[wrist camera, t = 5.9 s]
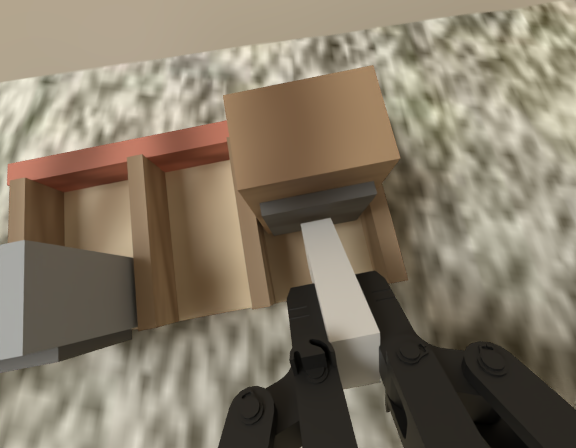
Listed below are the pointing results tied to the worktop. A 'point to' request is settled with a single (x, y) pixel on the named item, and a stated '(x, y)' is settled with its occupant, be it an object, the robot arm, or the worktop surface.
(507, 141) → the worktop surface
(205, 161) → the wooden compartment tray
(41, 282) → the grey block
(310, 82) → the brown box
